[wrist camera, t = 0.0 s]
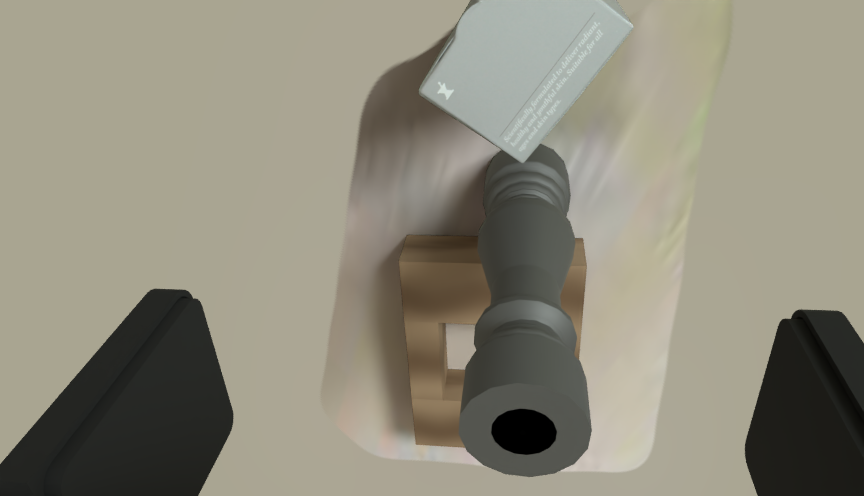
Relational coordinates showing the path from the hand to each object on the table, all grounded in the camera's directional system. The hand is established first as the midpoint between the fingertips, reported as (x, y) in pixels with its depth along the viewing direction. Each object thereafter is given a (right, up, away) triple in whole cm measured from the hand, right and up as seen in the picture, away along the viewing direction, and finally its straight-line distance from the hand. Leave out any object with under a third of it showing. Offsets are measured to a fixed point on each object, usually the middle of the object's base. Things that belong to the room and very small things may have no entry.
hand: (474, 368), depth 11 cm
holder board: (+5, -6, +46) cm, 47 cm away
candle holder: (+6, +7, +38) cm, 40 cm away
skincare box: (+5, +18, +32) cm, 37 cm away
